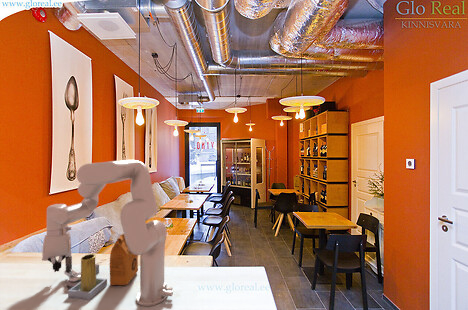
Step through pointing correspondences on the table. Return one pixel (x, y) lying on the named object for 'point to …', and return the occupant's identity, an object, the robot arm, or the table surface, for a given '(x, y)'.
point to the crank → (71, 271)
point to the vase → (88, 273)
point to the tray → (76, 292)
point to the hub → (71, 284)
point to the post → (97, 268)
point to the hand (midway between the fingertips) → (57, 270)
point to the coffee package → (122, 263)
